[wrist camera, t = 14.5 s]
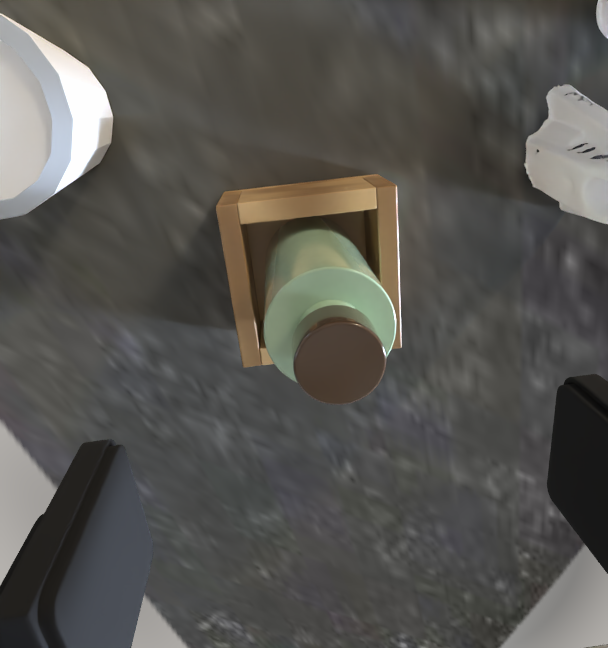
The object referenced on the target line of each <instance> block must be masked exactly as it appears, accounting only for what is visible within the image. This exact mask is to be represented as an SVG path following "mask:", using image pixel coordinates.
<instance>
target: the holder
mask: <svg viewBox="0 0 608 648" xmlns="http://www.w3.org/2000/svg"><path fill="white" fill-rule="evenodd" d="M216 212H217V217H218V223H219V229H220V235H221V241H222V247H223V253H224V258H225V264H226V270H227V276H228V282H229V288H230V294H231V299H232V305H233V311H234V317H235V323H236V329H237V335H238V340H239V346H240V352H241V358H242V364H243V367H251V366H259V365H267V364H274V363H273V361H272V359H271V358H270V356H269V354H268V351H267V349H266V345H265V341H264V287H265V255H266V250H267V247H268V244H269V242H270V240H271V238H272V237H273V235H274V234H275V233H276V232H277V230H278V229H279V228H281V227H282V226H283V225H284V224H286V223H287V222H289V221H291V220H293V219H296V218H302V217H311V216H320V217H324V218H327V219H330V220H332V221H334V222H335V223H337V224H338V225H340V226H341V227H342V228H343V229H344V230H345V231H346V232H347V234H348V235H349V237H350V238H351V240H352V241H353V243H354V244H355V246H356V247H357V249H358V250H359V252H360V253H361V255H362V256H363V258H364V259H365V261H366V262H367V264H368V265H369V267H370V269H371V270H372V272H373V273H374V275H375V276H376V278H377V279H378V281H379V282H380V284H381V285H382V287H383V288H384V290H385V291H386V293H387V295H388V296H389V298H390V300H391V302H392V304H393V307H394V310H395V314H396V323H397V324H396V335H395V340H394V343H393V346H392V348H391V349H396V348H401V347H402V336H401V302H400V269H399V236H398V202H397V186H396V185H395V184H393V183H392V182H390V181H388V180H386V179H384V178H383V177H381V176H379V175H378V174H373V175H365V176H356V177H347V178H339V179H330V180H322V181H313V182H304V183H296V184H287V185H278V186H270V187H261V188H252V189H244V190H235V191H226V192H224V193H223V195H222V196H221V198H220V200H219V202H218V204H217V205H216Z"/></svg>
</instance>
